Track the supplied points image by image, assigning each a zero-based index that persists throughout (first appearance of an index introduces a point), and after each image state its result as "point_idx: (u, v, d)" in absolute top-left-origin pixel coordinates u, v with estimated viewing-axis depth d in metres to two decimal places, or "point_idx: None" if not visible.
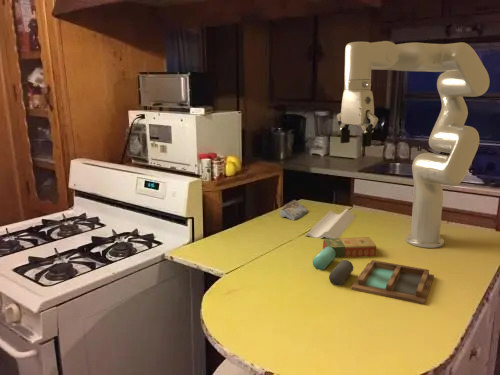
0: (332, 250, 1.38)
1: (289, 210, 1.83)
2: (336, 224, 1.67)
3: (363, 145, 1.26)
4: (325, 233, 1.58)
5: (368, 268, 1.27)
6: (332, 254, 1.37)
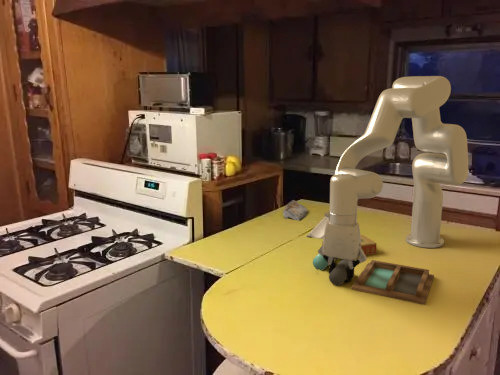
0: None
1: (293, 210, 1.83)
2: None
3: None
4: None
5: (368, 268, 1.27)
6: None
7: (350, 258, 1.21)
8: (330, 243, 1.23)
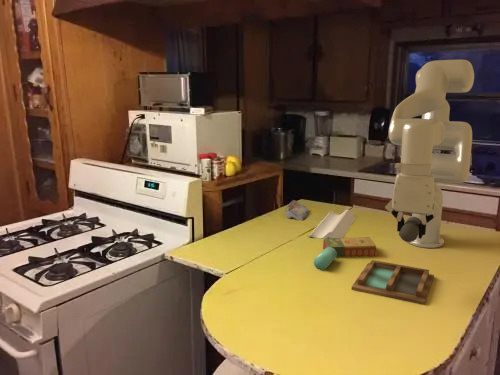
0: (334, 251, 1.38)
1: (295, 210, 1.83)
2: (339, 224, 1.66)
3: None
4: (329, 234, 1.57)
5: (368, 268, 1.27)
6: (334, 255, 1.37)
7: (425, 212, 1.12)
8: (401, 196, 1.14)
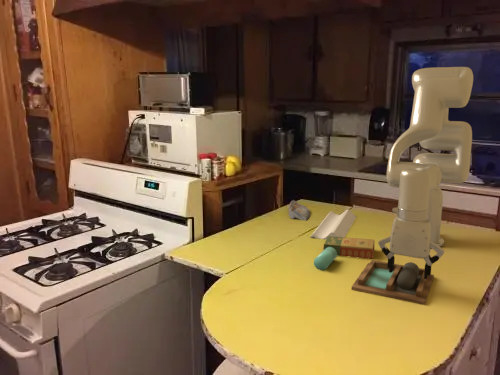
0: (334, 251, 1.38)
1: (299, 210, 1.83)
2: (340, 225, 1.66)
3: None
4: (331, 234, 1.57)
5: (368, 268, 1.27)
6: (334, 256, 1.37)
7: (421, 256, 1.15)
8: (399, 240, 1.17)
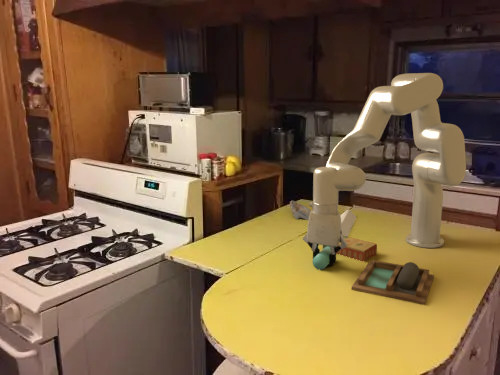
0: None
1: (303, 210, 1.83)
2: (342, 225, 1.66)
3: None
4: None
5: (368, 268, 1.27)
6: None
7: (332, 244, 1.31)
8: (314, 231, 1.33)
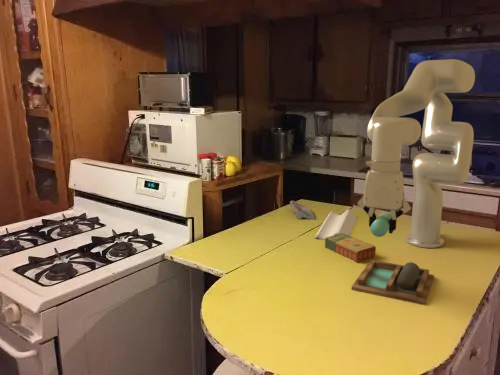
0: (390, 215, 1.23)
1: (306, 210, 1.83)
2: (343, 225, 1.66)
3: None
4: (336, 234, 1.56)
5: (368, 268, 1.27)
6: None
7: (394, 207, 1.16)
8: (372, 193, 1.18)
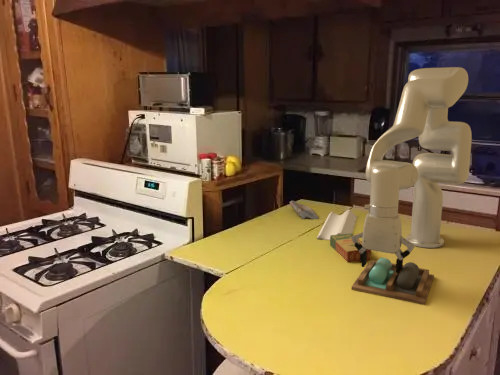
0: (388, 261, 1.26)
1: (309, 210, 1.83)
2: (345, 225, 1.65)
3: None
4: None
5: (368, 268, 1.27)
6: (389, 266, 1.25)
7: (392, 251, 1.19)
8: (370, 236, 1.21)
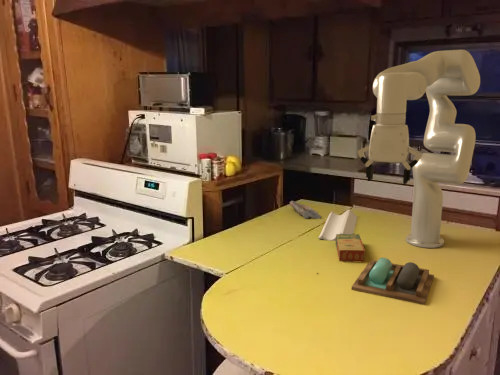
0: (388, 261, 1.26)
1: (311, 209, 1.83)
2: (346, 225, 1.65)
3: None
4: None
5: (368, 268, 1.27)
6: (389, 266, 1.25)
7: (399, 160, 1.16)
8: (377, 146, 1.18)
